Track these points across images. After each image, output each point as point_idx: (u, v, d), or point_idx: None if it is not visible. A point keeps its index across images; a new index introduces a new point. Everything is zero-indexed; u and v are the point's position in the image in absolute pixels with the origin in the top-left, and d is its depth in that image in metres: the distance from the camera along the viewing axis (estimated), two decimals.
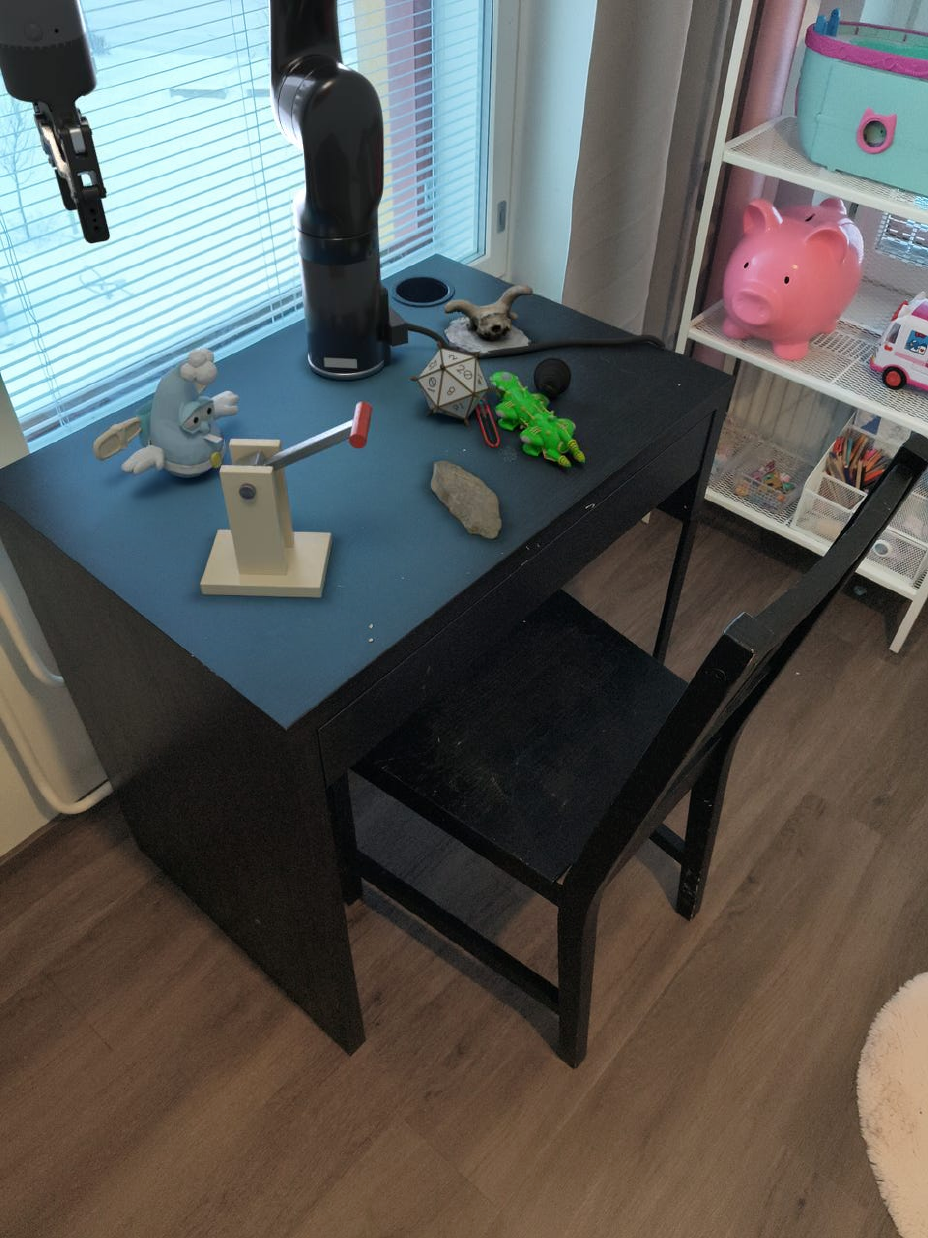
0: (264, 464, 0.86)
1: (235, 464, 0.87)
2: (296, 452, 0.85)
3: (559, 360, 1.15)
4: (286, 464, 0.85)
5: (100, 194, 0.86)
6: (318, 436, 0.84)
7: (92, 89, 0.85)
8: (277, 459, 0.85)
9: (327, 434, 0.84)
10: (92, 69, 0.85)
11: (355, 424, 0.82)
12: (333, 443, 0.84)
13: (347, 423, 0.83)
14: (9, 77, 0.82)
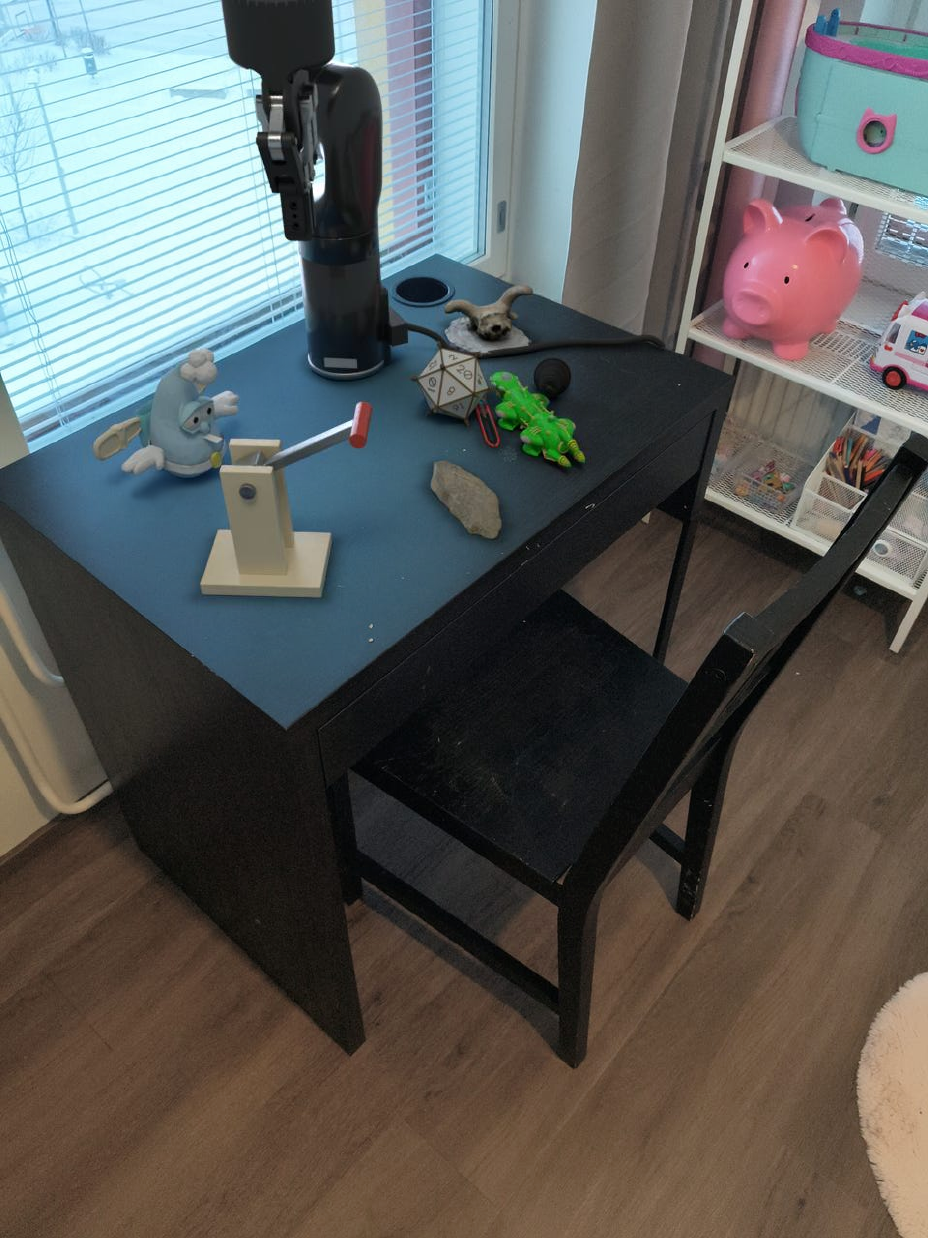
0: (264, 464, 0.86)
1: (235, 464, 0.87)
2: (296, 452, 0.85)
3: (559, 360, 1.15)
4: (286, 464, 0.85)
5: (297, 188, 0.74)
6: (318, 436, 0.84)
7: (317, 64, 0.69)
8: (277, 459, 0.85)
9: (327, 434, 0.84)
10: (324, 40, 0.68)
11: (355, 424, 0.82)
12: (333, 443, 0.84)
13: (347, 423, 0.83)
14: (227, 35, 0.68)
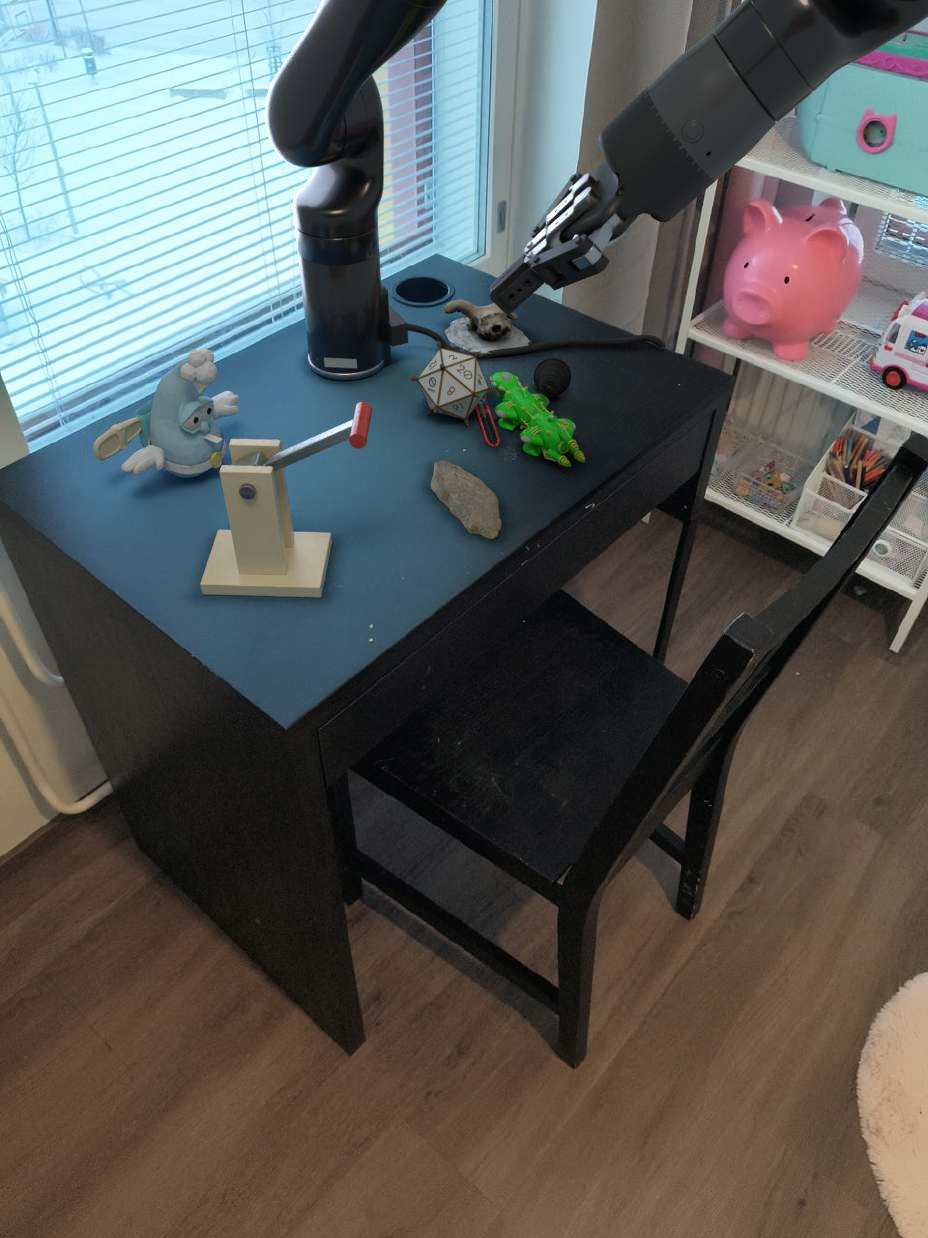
0: (264, 464, 0.86)
1: (235, 464, 0.87)
2: (296, 452, 0.85)
3: (559, 360, 1.15)
4: (286, 464, 0.85)
5: (554, 283, 0.70)
6: (318, 436, 0.84)
7: (663, 221, 0.68)
8: (277, 459, 0.85)
9: (327, 434, 0.84)
10: (682, 208, 0.68)
11: (355, 424, 0.82)
12: (333, 443, 0.84)
13: (347, 423, 0.83)
14: (621, 132, 0.65)
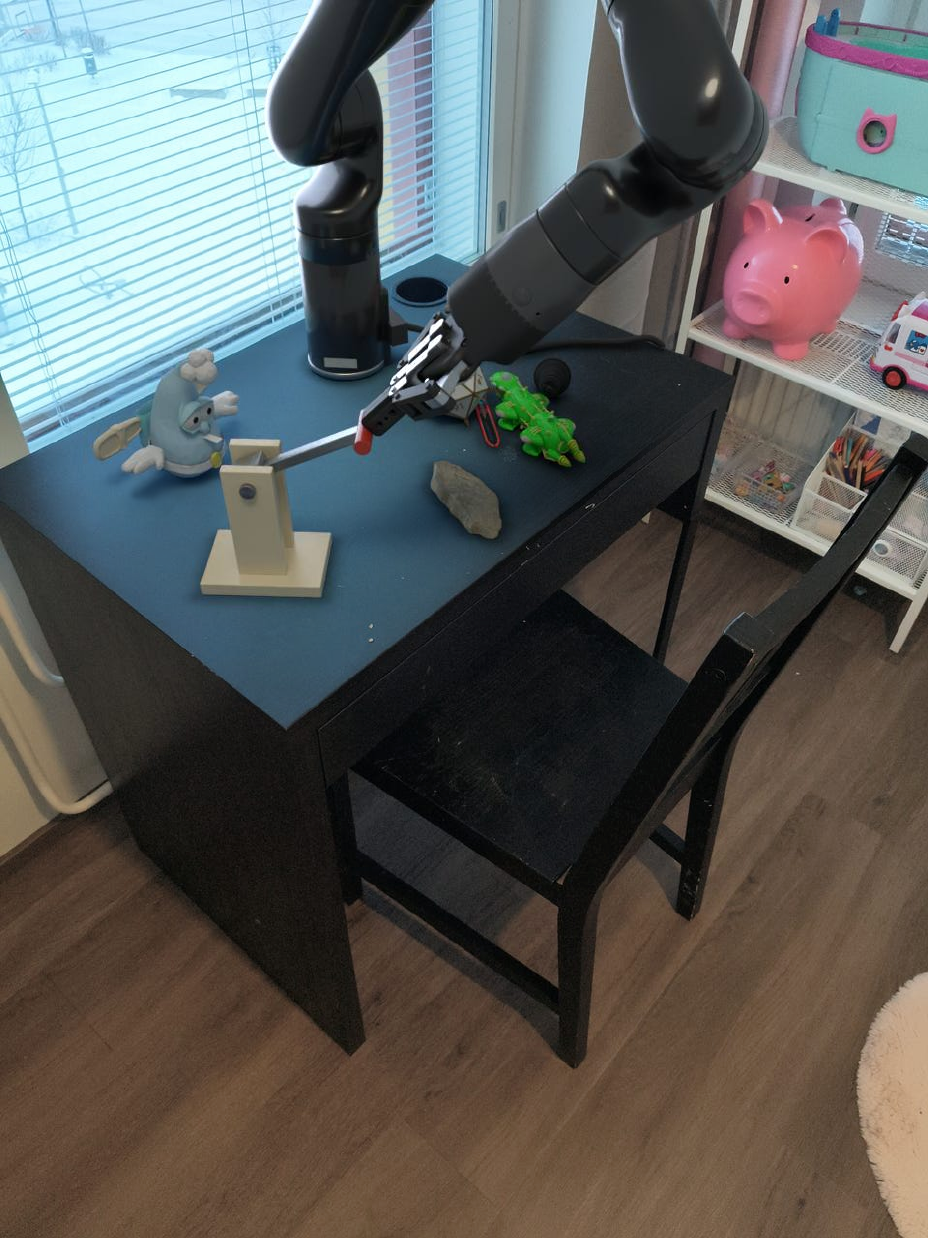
0: (265, 465, 0.86)
1: (235, 463, 0.87)
2: (298, 455, 0.85)
3: (559, 360, 1.15)
4: (287, 466, 0.86)
5: (413, 415, 0.79)
6: (321, 440, 0.85)
7: (506, 364, 0.76)
8: (279, 461, 0.85)
9: (331, 438, 0.84)
10: (523, 353, 0.76)
11: (360, 430, 0.82)
12: (336, 448, 0.84)
13: (351, 429, 0.84)
14: (463, 292, 0.73)
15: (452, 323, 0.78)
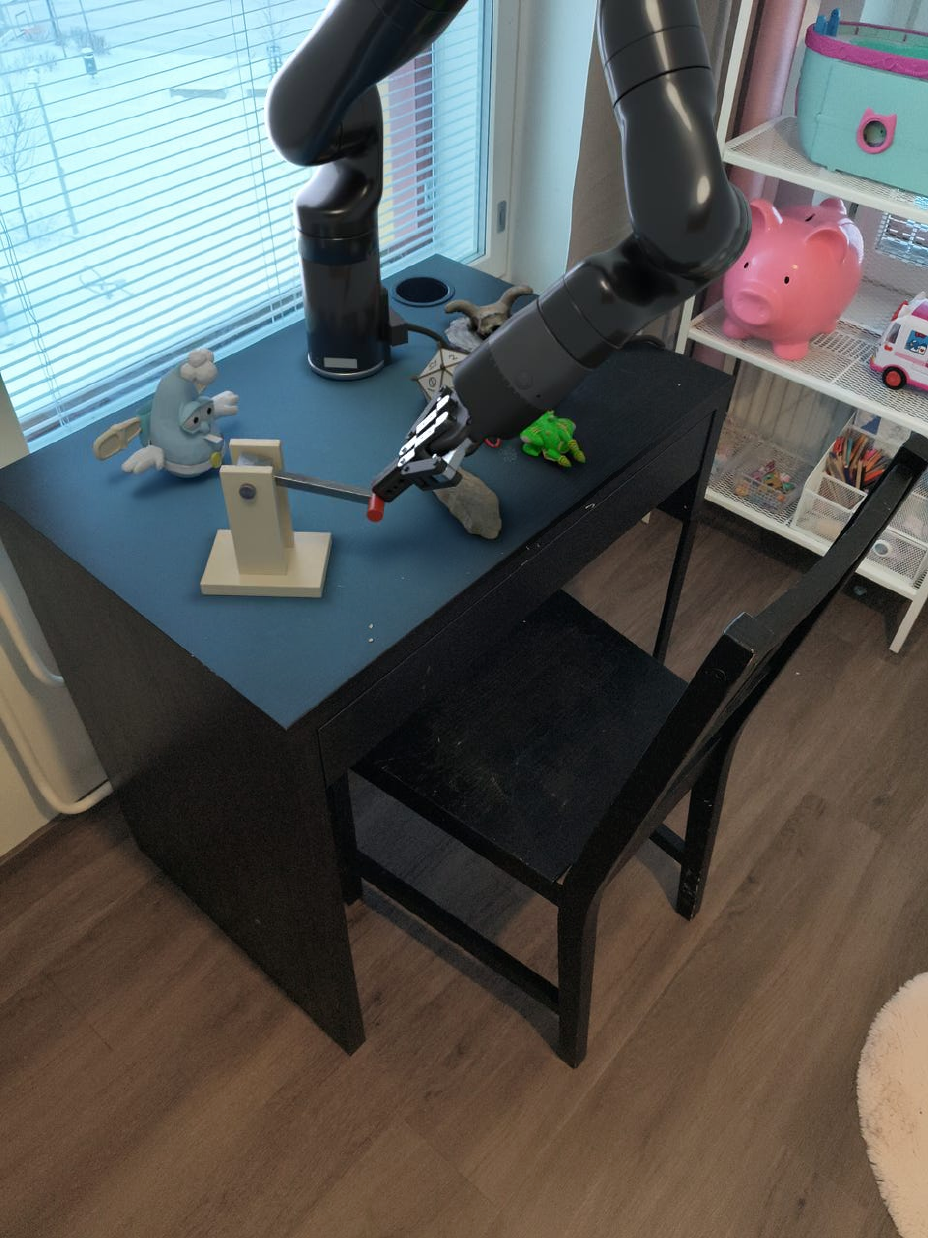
0: None
1: (242, 456, 0.86)
2: (308, 484, 0.87)
3: None
4: (290, 487, 0.87)
5: (422, 486, 0.83)
6: (334, 483, 0.88)
7: None
8: (286, 478, 0.87)
9: (345, 488, 0.88)
10: (525, 429, 0.81)
11: (378, 498, 0.87)
12: (344, 498, 0.88)
13: (367, 490, 0.88)
14: (468, 375, 0.78)
15: (457, 399, 0.83)
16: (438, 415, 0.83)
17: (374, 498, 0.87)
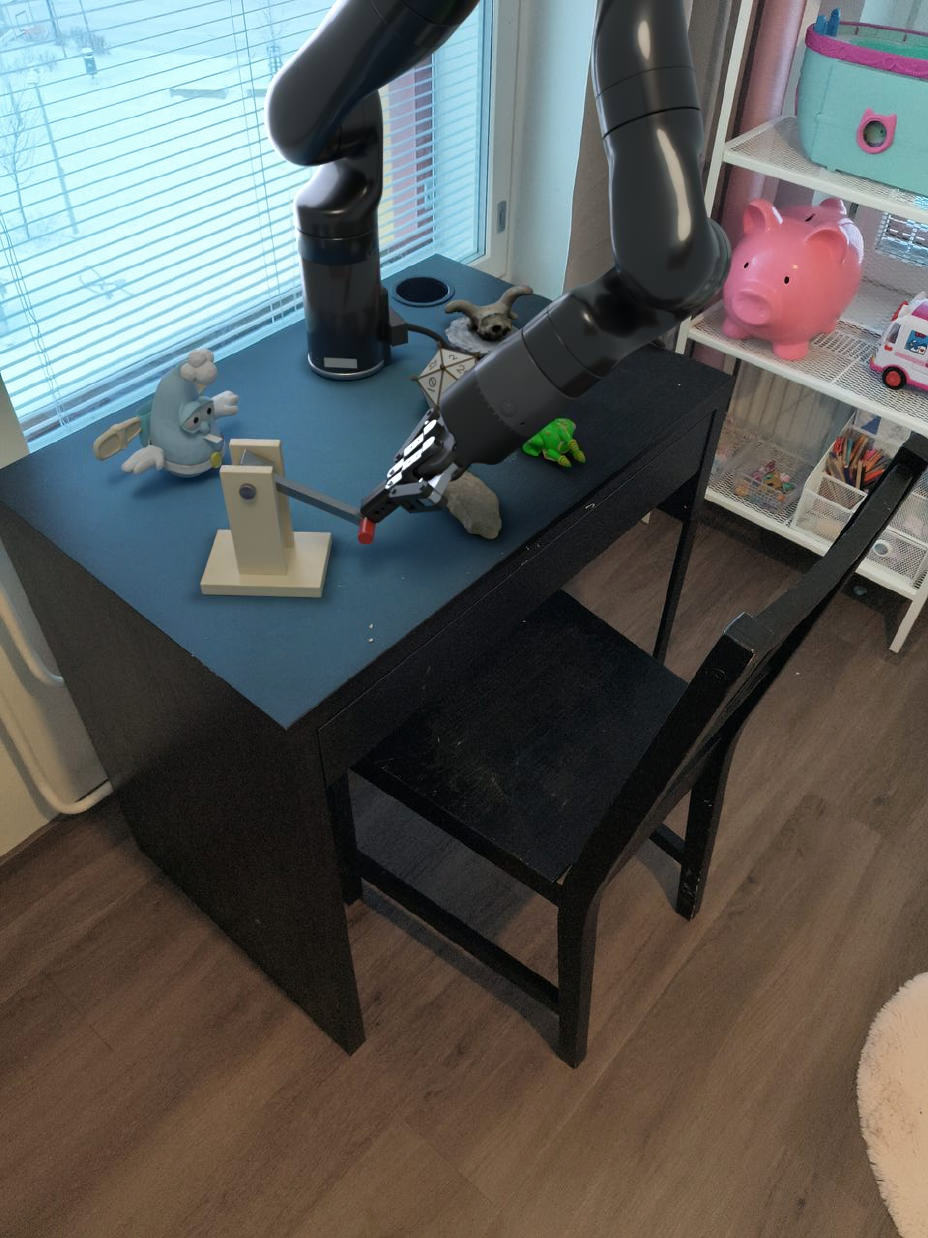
0: None
1: (246, 454, 0.86)
2: (305, 495, 0.88)
3: None
4: (287, 494, 0.88)
5: (408, 508, 0.85)
6: (330, 498, 0.89)
7: (494, 464, 0.83)
8: (286, 485, 0.87)
9: (340, 505, 0.89)
10: (510, 454, 0.83)
11: (371, 522, 0.89)
12: (337, 515, 0.89)
13: None
14: (454, 402, 0.79)
15: (444, 423, 0.85)
16: (425, 439, 0.85)
17: (367, 521, 0.89)
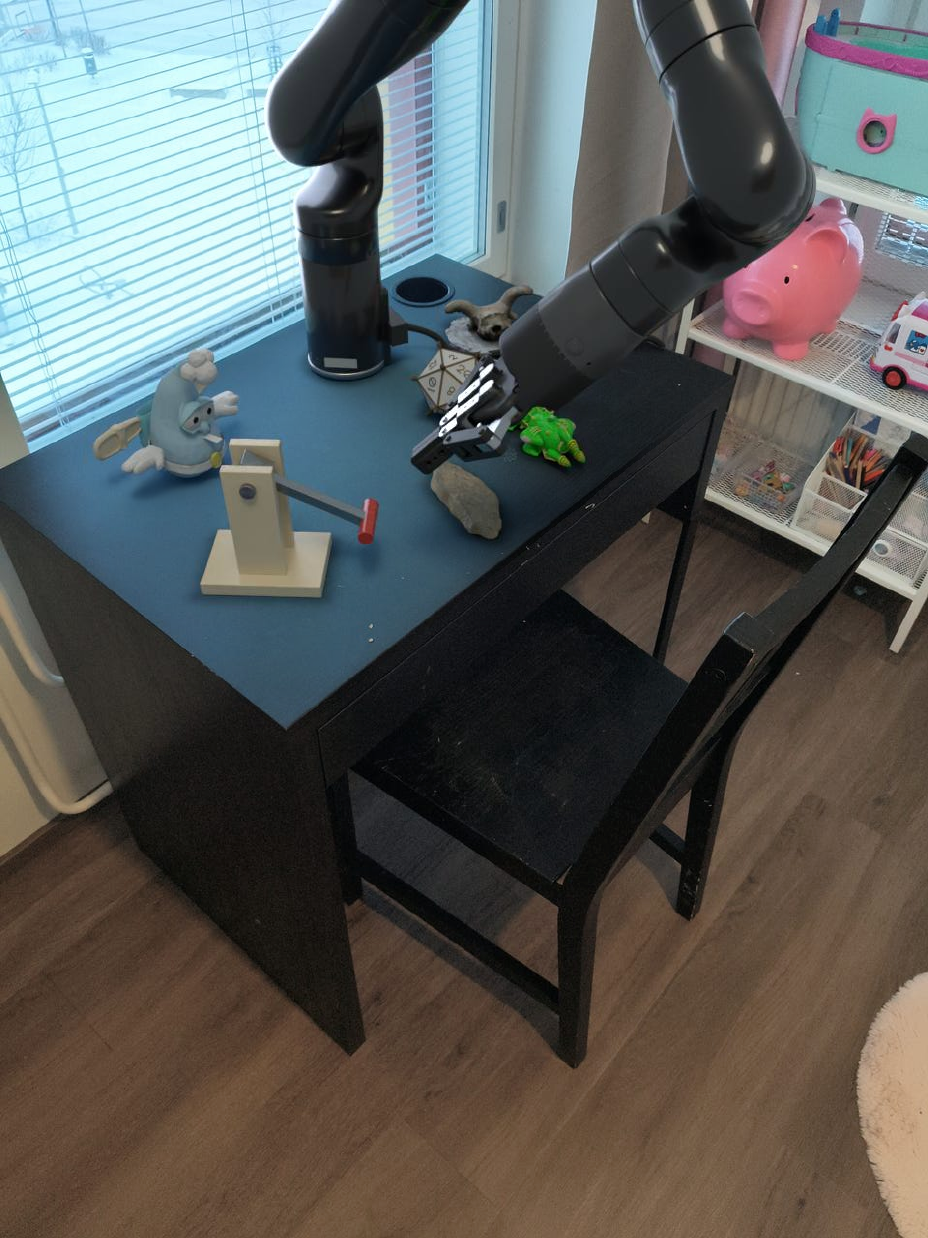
0: None
1: (246, 454, 0.86)
2: (305, 495, 0.88)
3: None
4: (287, 494, 0.88)
5: (463, 457, 0.81)
6: (330, 498, 0.89)
7: (555, 409, 0.79)
8: (286, 485, 0.87)
9: (340, 505, 0.89)
10: None
11: (371, 522, 0.89)
12: (337, 515, 0.89)
13: (360, 511, 0.90)
14: (516, 341, 0.76)
15: (502, 367, 0.81)
16: (482, 384, 0.81)
17: (367, 521, 0.89)
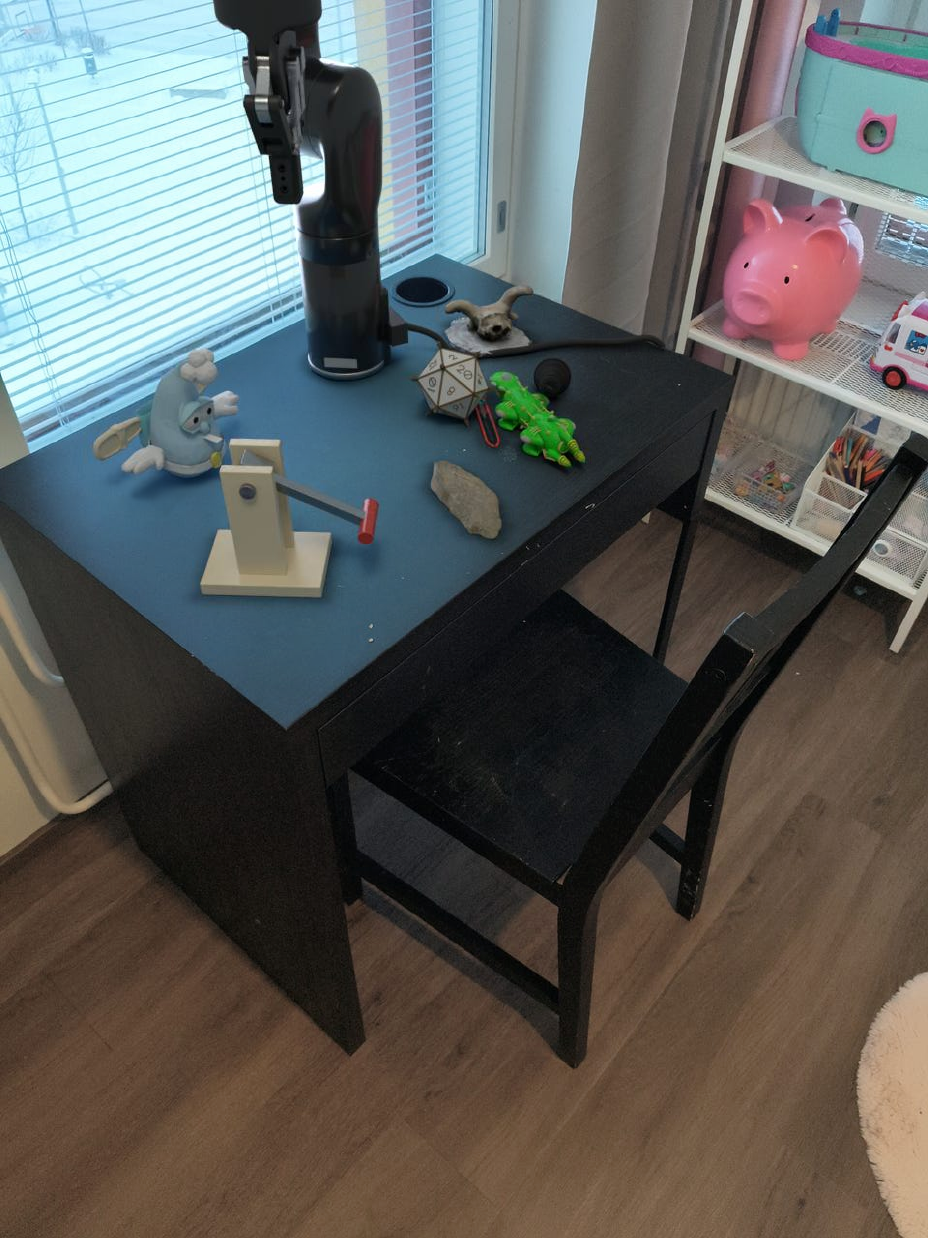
0: None
1: (246, 454, 0.86)
2: (305, 495, 0.88)
3: (559, 360, 1.15)
4: (287, 494, 0.88)
5: (285, 149, 0.74)
6: (330, 498, 0.89)
7: (304, 24, 0.69)
8: (286, 485, 0.87)
9: (340, 505, 0.89)
10: (310, 0, 0.68)
11: (371, 522, 0.89)
12: (337, 515, 0.89)
13: (360, 511, 0.90)
14: None
15: None
16: None
17: (367, 521, 0.89)
